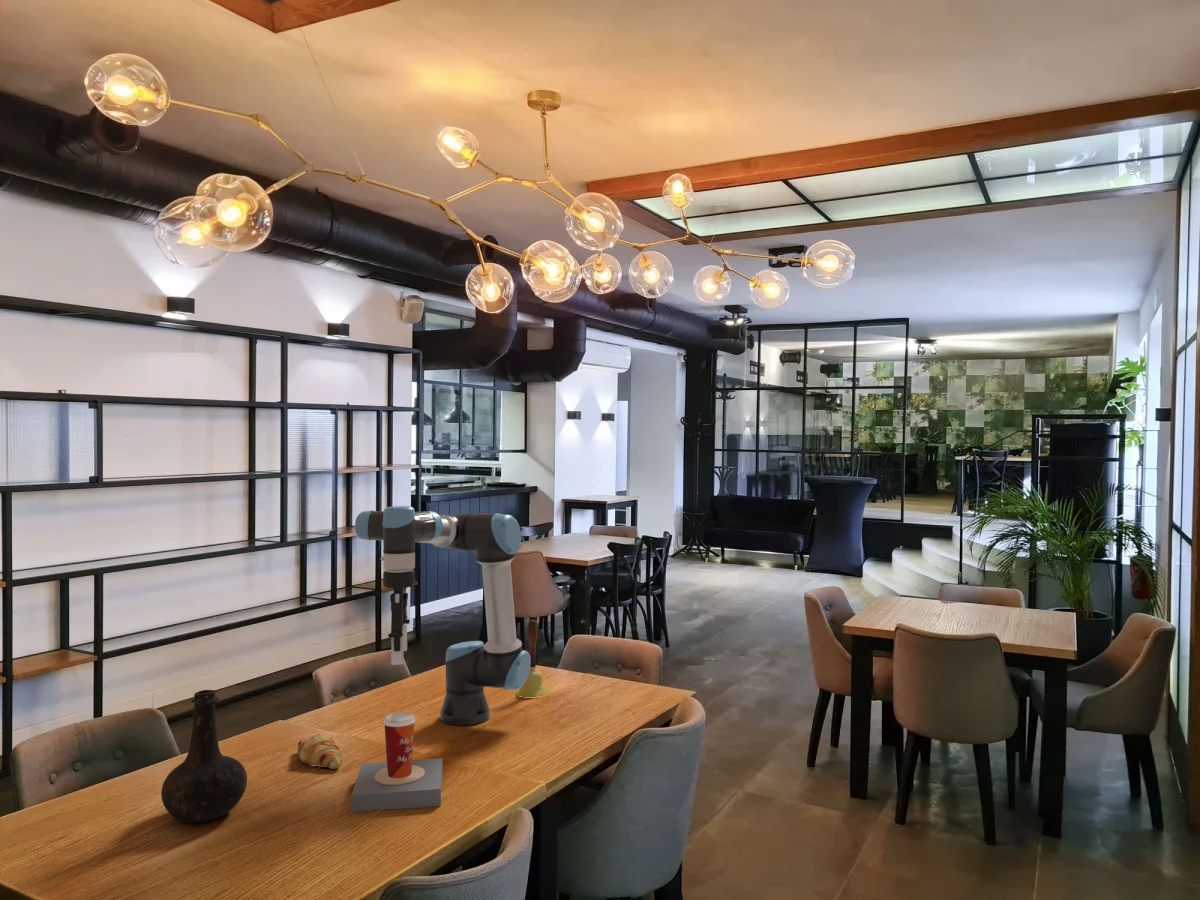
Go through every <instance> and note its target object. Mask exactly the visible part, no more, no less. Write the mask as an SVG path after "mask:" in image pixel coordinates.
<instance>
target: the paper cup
mask: <svg viewBox="0 0 1200 900" xmlns="http://www.w3.org/2000/svg"><path fill="white" fill-rule="evenodd" d="M382 723H383V725H384V734H385V735H384V737H385V738H384V739H385V753H386V762H387V769H388V776H389V777H391V778H403V777H407V776H409V775H410V774H411V771H412V760H413V754H414V734H415V723H416V718H415V716H414V714H413V713H411V712H406V711H400V712H399V711H398V712H392V713H389V714H387V715H386V716H385V718H384V720H383V722H382Z"/></svg>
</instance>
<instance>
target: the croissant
mask: <svg viewBox="0 0 1200 900" xmlns="http://www.w3.org/2000/svg"><path fill="white" fill-rule="evenodd" d="M297 746H298V747H297V754H298V758H299V760H300V761H301V762H302V763H304V764H305V763H306V764H308V765H307V766H309V765H317V766H320V767H327V769H329V768H330V769H329V770H336V769H338V768H340V767H341V765H342V761H343V755H342V752H341V749H340V747H339V746H338V745H337V743H336V742H335V739H333V738H332V737H330V736H328V735H323V734H320V733H318V734H315V735H313V736H311V737H309V738H308V739H304V740H299V741H298V743H297ZM306 764H305V765H306ZM320 767H319V768H320Z"/></svg>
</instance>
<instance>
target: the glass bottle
mask: <svg viewBox="0 0 1200 900" xmlns="http://www.w3.org/2000/svg"><path fill="white" fill-rule="evenodd" d="M216 693H217V691H216V690H214V689H203V690H202V689H201V690H198V691H196V692H195V693H194V694H193V698H194V699H192V700H190V702H191V703H193V721H192V730H191V735H190V736H191V737H190V742H189V747H188V750H187V751H188V752H187V756H186V757H185V759H184V760H183V762H182V763H180V764H178V765H177V766H175V767H174V768H173V769H172V770H171V771H170V772H169V773H168V775H167V776H166V778H165V779H164V781H163V784H162V786H161V801H162V804H163V806H164V808H165V810H166V812H168V814H169V815H171V816H172V817H173V818H174V819H176V820H178V821H180V822H184V823H188V822H193V823H192V824H195V823H194V822H199V823H205V822H208V821H209V820H210V821H212V820H216V819H218V817H219V818H221V817H223V816H225V815H226V814H228V813H229V812H231V811H232V810H233V809H234V808H235V807H236V806H237V805H238V803H239V802H240V800H241V799H242V797H243V796H244V794H245V791H246V789H247V785H248V774H247V771H246V769H245V767H244V765H243V763H241V762H240V761H239V760H237V759H235V758H234V757H231V756H227V755H223V754H222V753H221V751H220V746H219V740H218V731H217V717H216V703H217V702H218V701H219V699H220V698H219V697H218V696H216ZM204 821H205V822H204ZM210 821H209V822H210Z"/></svg>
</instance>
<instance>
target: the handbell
mask: <svg viewBox="0 0 1200 900" xmlns="http://www.w3.org/2000/svg"><path fill="white" fill-rule="evenodd" d="M537 641H538V626H537V622H536V620H535V619H531V620H529V621H528V625H527V642H528V647H529V648H528V649H529V652H528V653H529V654H530V658H531V664H530V671H529V674H528V677H527V680H526V682H525V683H524V685H523V686H522V687H521V688H519V689H516V691H515V693H514V695H515V694H516V695H518V696H522V697H536V696H543V695H546V694H548V693H549V692H550V693H551V690H550V689H549V688H547V687H546V686H545V685H544V683H543V674H542V671H540V670H538V669H537V665H536V664H537V663H536V662H537V660H536V659H537V658H536V657H537V656H536V653H537V652H536V649H537V647H536V645H537Z"/></svg>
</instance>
